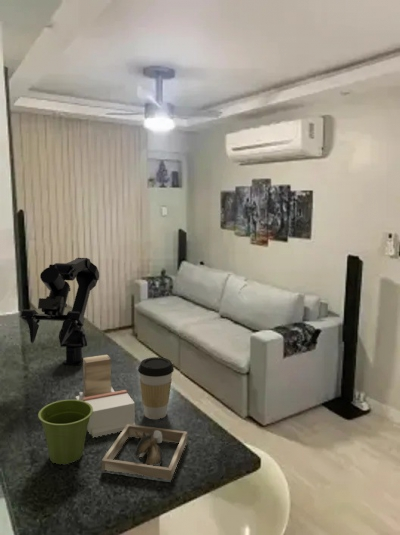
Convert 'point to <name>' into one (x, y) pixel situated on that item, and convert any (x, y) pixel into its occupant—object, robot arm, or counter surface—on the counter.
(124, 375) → the counter surface
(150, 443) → the eagle figurine
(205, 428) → the counter surface
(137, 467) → the frame
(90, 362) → the light wood block
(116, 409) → the housing
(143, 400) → the coffee cup
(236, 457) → the counter surface
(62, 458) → the plant pot
